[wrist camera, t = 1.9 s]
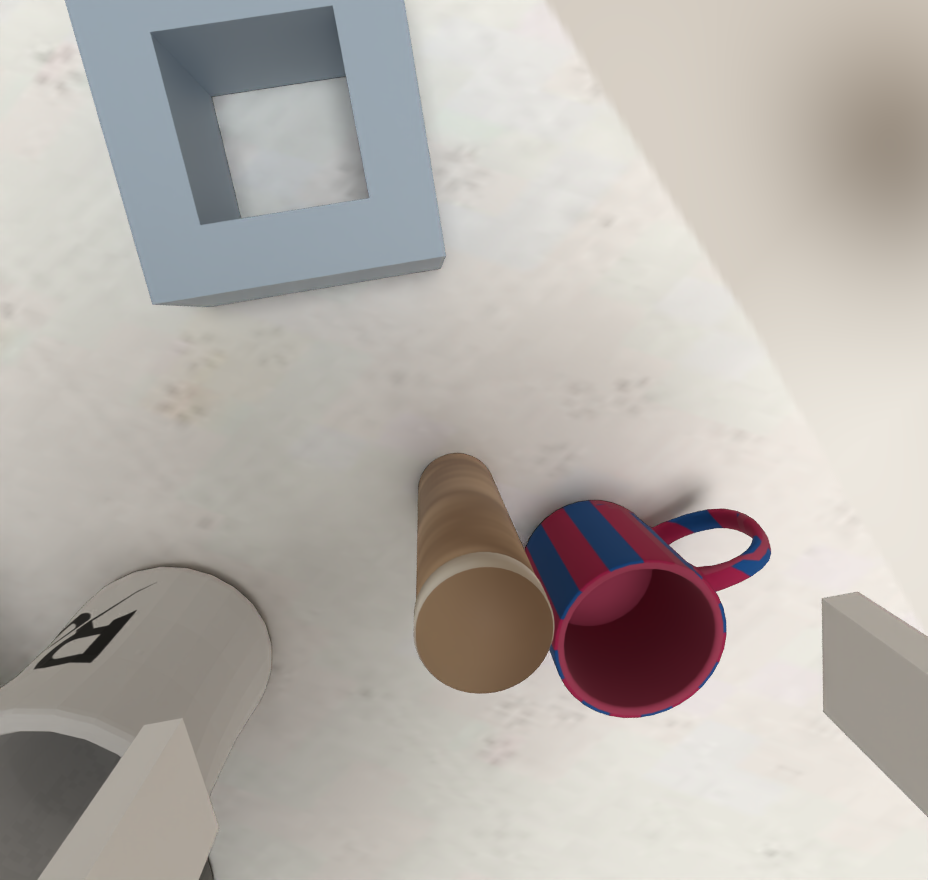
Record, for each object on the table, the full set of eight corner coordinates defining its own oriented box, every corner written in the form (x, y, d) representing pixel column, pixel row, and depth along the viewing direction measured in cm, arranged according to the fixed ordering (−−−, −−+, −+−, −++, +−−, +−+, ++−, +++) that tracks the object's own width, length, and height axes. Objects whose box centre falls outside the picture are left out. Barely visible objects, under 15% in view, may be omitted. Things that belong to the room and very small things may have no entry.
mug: (196, 523, 25) (56, 653, 16) (314, 665, 27) (255, 857, 18) (-16, 662, 26) (-277, 869, 16) (115, 790, 28) (-48, 1041, 18)
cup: (499, 535, 27) (526, 608, 20) (687, 447, 26) (776, 490, 20) (553, 644, 28) (593, 745, 21) (730, 561, 28) (827, 637, 21)
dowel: (424, 533, 26) (427, 707, 15) (410, 459, 25) (400, 582, 14) (500, 519, 26) (563, 680, 15) (488, 445, 25) (545, 554, 14)
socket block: (208, 307, 23) (152, 304, 18) (138, 41, 21) (52, -42, 16) (440, 268, 24) (445, 255, 19) (396, 3, 21) (389, -89, 16)
